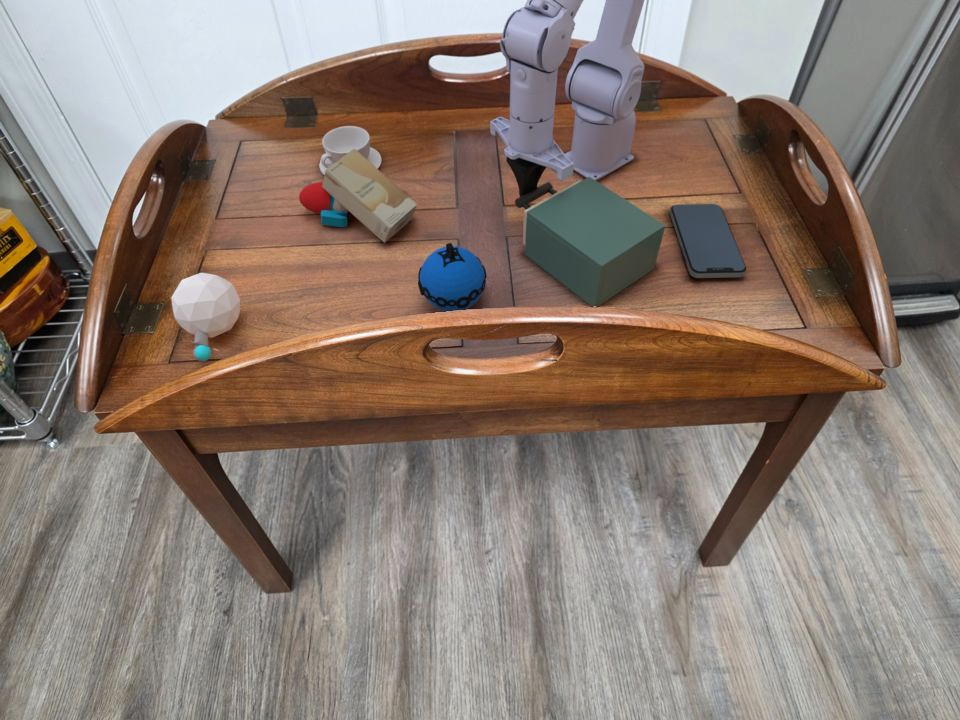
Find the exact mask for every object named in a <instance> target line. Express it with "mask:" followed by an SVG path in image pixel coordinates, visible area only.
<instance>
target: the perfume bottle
mask: <svg viewBox="0 0 960 720" xmlns="http://www.w3.org/2000/svg"><path fill="white" fill-rule="evenodd" d="M170 299H171V306H172V307H171V308H172V312H173V313H172V314H173V318H174V320H175V321H176V322H177V324H178V325H179V327H180V328H182V329H183V330H184V331H186V332H187V333H188V334H191V335H194V340H193V341H192V340H188V342H189V343H190V344H193V345H194V348H193V350H192V355H193V357H194V358H195V359H196V360H197V361H199V362H207V361H208V360H209V359H210V358H211V355H212V352H214V351H218V352H220V350H219V349H217V348H212V347H210V346H209V338H211V339H212V338H215V337H217V336H219V335H221V334H224V333H226V332H228V331H231V330H232V328H233V327H234V325H235V324H236V322H237V321H238V319H239V317H240V314H241V299H240V297H239V295H238V292H237V289H236V288H235V287H234V284H233V283H232V282H230V281H229V280H227V279H225V278H224V277H222V276H219V275H217V274H212V273H208V272H199V273H197V274H196V273H195V274H193V275H191V276H187V277H185V278H184V279H181V280H180V282H179V283H178V285H177V286H176V289H175V290H174V292H173V293H172V296H171V298H170Z"/></svg>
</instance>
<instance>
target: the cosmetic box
mask: <svg viewBox="0 0 960 720" xmlns="http://www.w3.org/2000/svg"><path fill="white" fill-rule="evenodd" d="M323 175H324V174H323ZM322 182H323V185H322V187H323V188H324V189H325V190H326V191H327V192H328V193H329V194H331V195H332V196H333V197H334V198H335V199H336V200H337V201H338V202H339V203H341V204H342V205H343V206H344V207H345V208H346V209H347V210H348V211H349V212H348V213H350V214H352V216H354V217H355V218H356V219H357V220H358V221H359V222H360V223H362V224H363V225H364V226H365V228H367V229H368V230H369V231H370V232H372V233H373V234H374V235H375V236H376V237H377V238H378V239H380V240H381V242H383V243H385V244H386V242H388V241H389V240H390V239H391V238H392V237H393V236H395V235H396V233H398V232H399V231H400V230H402V229H403V228H404V227H405V226H406V225H407V224H408V223H409V222H410V221H411V220H412V218H413V216H414V213H415V211H416V209H417V207H418V203H416V202H415V201H414V199H412V198H411V197H410V196H409V195H408V194H406V193H405V192H404V191H403V190H402V189H401V188H399V187H398V185H396V184H395V183H394V182H393V181H392V180H391V179H390V178H388V177H387V175H385V174H384V173H383V172H382V171H380V170H379V168H378V169H377V168H376V167H375V166H374V165H372V164H371V163H370V162H369V161H368V160H367V159H366V158H365V157H364V156H362V155H361V154H360V153H359V152H358V151H357V150H356V149H355V148H354V149H353V150H351V151H350V152H349V153H347V154H346V155H345V156H343V157H342V158H341V159H339V160H338V161H337V162H335V163H334V164H333V165H331V166H330V167H329V168H327V169H326V171H325V175H324V176H323V181H322Z"/></svg>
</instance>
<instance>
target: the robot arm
mask: <svg viewBox="0 0 960 720" xmlns="http://www.w3.org/2000/svg"><path fill="white" fill-rule="evenodd" d="M583 2H584V0H526V2H525V4H524V6H522V7H520V8H518V9H515V10H514V11H513V12H512V13H511V14H510V15H509V16H508V17H507V19H506V22H505V24H504V26H503V31H502V37H501V39H499V47H500V52H501V53H502V55H503V57H504V58H505V62H506V63H505V64H506V65H505V70H506V71H507V73H508V74H509V75H510V76H509V77H510V78H509V81H510V82H509V85H510V86H509V119H508V118H505V117H503V116H499V117H496V118H495V119H492V120H490V121H489V123H490V124H489V126H490V127H489V128H490V129H489V131H490V135H492V136H493V137H497V136H499V137H500V139H501V140H502V142H503V144H504V145H505V148H504V150H503V154H504V156H505V157H506V163H507V165H508V167H510V170H511V171H512V173H513V175H514V178H515V180H516V184H517V187H518V195H519V197H521V196H523V195H524V194H526V193H528V192H530V191H532V190H534V189H535V188H537V187H538V185H539V181H540V179H541V177H542V175H543V173H544V172H545V170H546V169H547V168H548V169H549V170H550V171H552V172H554V173H555V174H556V179H557V180H559V181H560V182H564V181H566V180H567V179H569V178H570V177H573V175H574V171H575V172H576V173H578V174H579V175H581V176H582V177H584V178H585V179H586V178H588V177H591V178H592V179H594V180H596V181H599V180H601V179H602V178H604V177H605V176H607V175H609V174H611V173H612V172H614V171H616V170H617V169H620V168H621V167H624V166H625V165H627V164H628V163H630V162H632V161H634V159H635V156H634V155H633V154H631V151H632V146H633V141H634V134H635V130H636V125H637V117H636V116H637V115H636V112H635V110H634V109H635V108H636V106H637V104H638V102H639V100H640V97H641V92H642V80H643V76H644V73H645V63H644V62H643V61H642V59H641V58H640V57H639V55H638V53H637V51H636V50H635V49H634V46H633V45H632V44H633V41H634V38H635V35H636V30H637V28H638V25H639V21H640V17H641V13H642V10H643V8H644V3H645V0H605V2H604V6H603V10H602V14H601V18H600V21H599V25H598V30H597V33H596V36H595V39H594V40H591V41H590V42H588V43H585V44H584V45H582V46H580V48H578V49H577V51H576V55H575V57H574V60H573V63H572V65H571V67H570V68H569V71H568V73H567V75H566V79H565V83H564V85H565V86H564V90H565V97H566V99H567V100H568V101H570V102H571V107H570V108H571V109H572V111H573V110H574V121H573V130H572V139H571V140H572V141H571V148H570V149H571V150H569V151H567V152H566V153H564V152H563V150H562V148H561V147H560V146H559V145H558V143H557V142H556V141H555V139H554V138H553V136H554V122H555V112H556V111H555V110H556V99H557V98H556V96H557V84H558V70H559V68H560V67H561V65H562V63H563V61H564V60H565V58H566V57H567V55H568V53H569V49H570V46H571V42H572V37H573V36H572V35H573V33H574V30H575V26H576V22H575V17H576V16H577V14H578V12H579V10H580V8H581V6H582V4H583Z"/></svg>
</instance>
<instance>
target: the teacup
mask: <svg viewBox="0 0 960 720" xmlns="http://www.w3.org/2000/svg"><path fill="white" fill-rule="evenodd" d="M321 144H322V147H323V149H324V152H325V153H323V154H322V155H321V156H320V161H319V164H318V165H319V170H320V173H321V174H322V175H325V171H326V169H327V168H329V167H330V166H331V165H333V164H334V163H335V162H337V161H338V160H339V159H341V158H342V157H343V156H345V155H346V154H347V153H349V152H350V151H351V150H353V149H354V148H355V149H356V150H357V151H358V152H359V153H360V154H361V155H362V156H364V157H365V158H366V159H367V160H368V161H369V162H370V163H371V164H372V165H374V166H375V167H376V168H377V169H378V170H379V168H380V166H381V164H382V155H381V154H380V152H379V151H378V150H377V149H375V148H374V147H372V146H371V137H370V134H369V132H368V130H366V129H364V128H362V127H360V126H355V125H344V126H339V127H338V126H337V127H336V128H333V129H331V130H329V131H328V132H327V133H325V134H324V135H323V137H322V139H321Z"/></svg>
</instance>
